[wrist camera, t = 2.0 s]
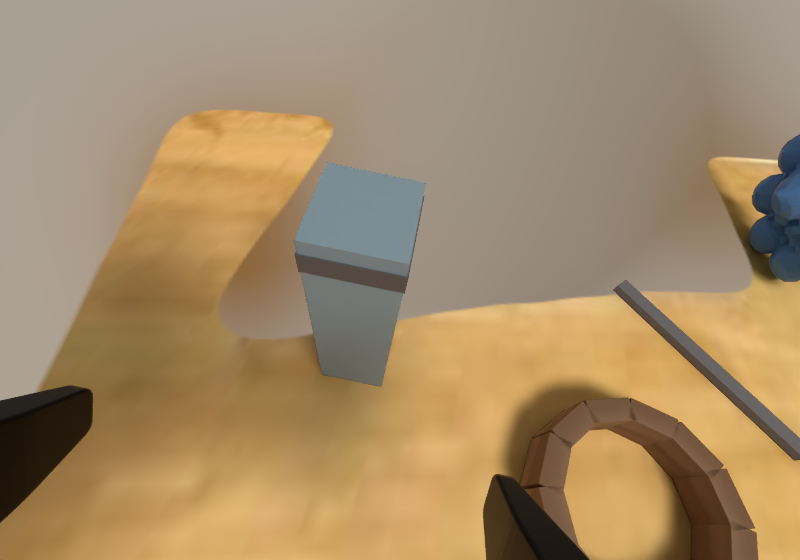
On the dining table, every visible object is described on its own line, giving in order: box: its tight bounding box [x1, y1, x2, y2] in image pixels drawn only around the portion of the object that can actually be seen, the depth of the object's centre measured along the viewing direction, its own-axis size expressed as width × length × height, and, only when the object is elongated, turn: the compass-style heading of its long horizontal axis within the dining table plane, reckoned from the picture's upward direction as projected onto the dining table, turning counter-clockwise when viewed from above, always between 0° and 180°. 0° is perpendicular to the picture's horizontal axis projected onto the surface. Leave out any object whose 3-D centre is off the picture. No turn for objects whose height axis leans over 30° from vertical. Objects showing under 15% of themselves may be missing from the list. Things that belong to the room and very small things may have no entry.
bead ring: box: [520, 398, 758, 560], centre depth 19 cm, size 10×10×2 cm
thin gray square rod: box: [613, 280, 800, 460], centre depth 25 cm, size 1×14×1 cm, turn 34°
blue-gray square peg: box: [294, 163, 426, 387], centre depth 18 cm, size 4×4×13 cm
